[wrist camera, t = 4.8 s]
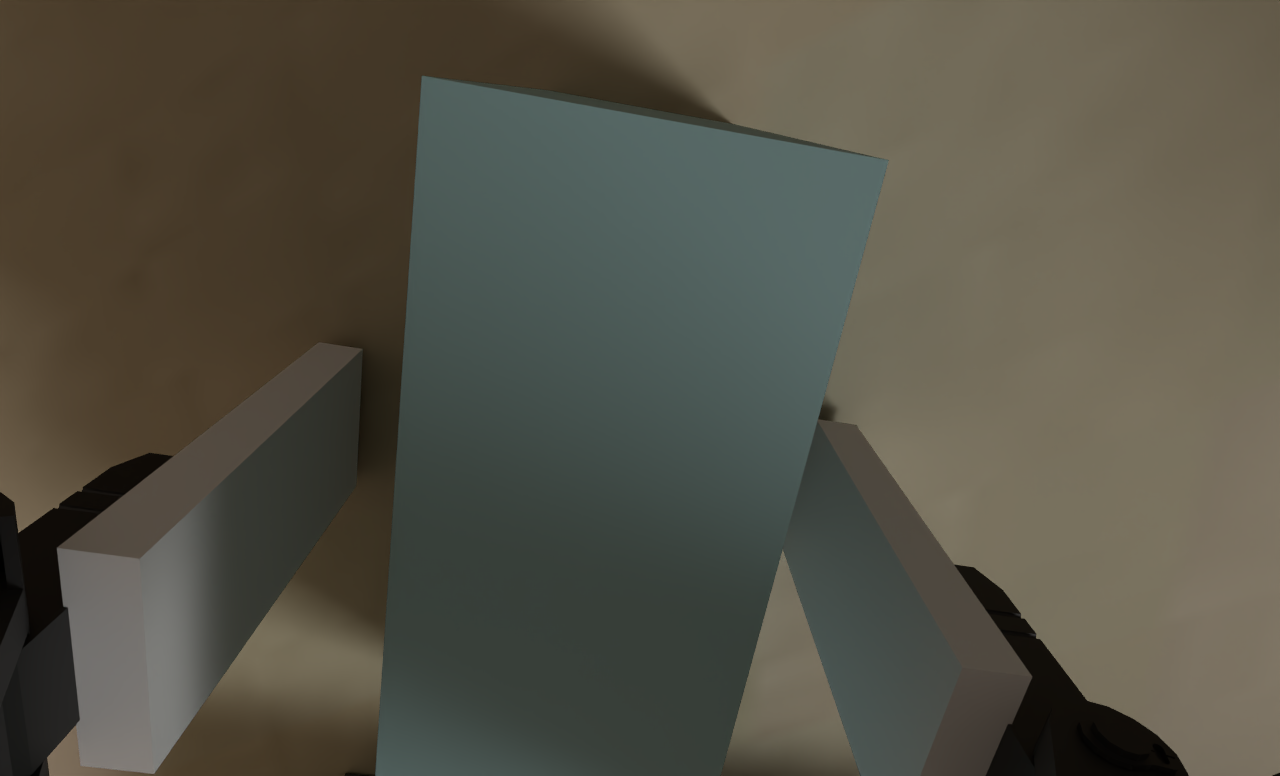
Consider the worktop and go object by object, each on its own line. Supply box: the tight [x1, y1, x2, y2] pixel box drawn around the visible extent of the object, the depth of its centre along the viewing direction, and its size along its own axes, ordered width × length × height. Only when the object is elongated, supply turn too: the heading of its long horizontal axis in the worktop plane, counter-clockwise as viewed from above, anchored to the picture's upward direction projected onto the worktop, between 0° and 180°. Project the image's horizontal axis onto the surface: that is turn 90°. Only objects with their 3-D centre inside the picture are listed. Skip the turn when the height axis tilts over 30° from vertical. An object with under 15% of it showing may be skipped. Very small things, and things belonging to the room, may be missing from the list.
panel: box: [375, 76, 889, 776], centre depth 11 cm, size 12×3×8 cm, turn 170°
